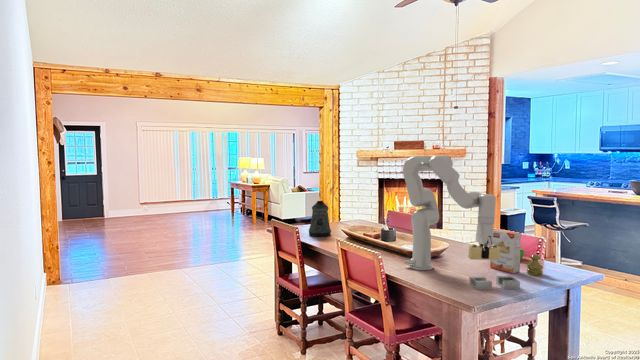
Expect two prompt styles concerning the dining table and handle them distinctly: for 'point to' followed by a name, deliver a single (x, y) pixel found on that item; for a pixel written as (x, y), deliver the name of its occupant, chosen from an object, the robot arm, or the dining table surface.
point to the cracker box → (507, 250)
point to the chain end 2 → (507, 282)
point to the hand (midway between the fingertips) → (483, 257)
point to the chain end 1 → (480, 283)
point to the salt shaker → (535, 266)
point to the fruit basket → (521, 252)
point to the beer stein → (320, 221)
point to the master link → (476, 252)
